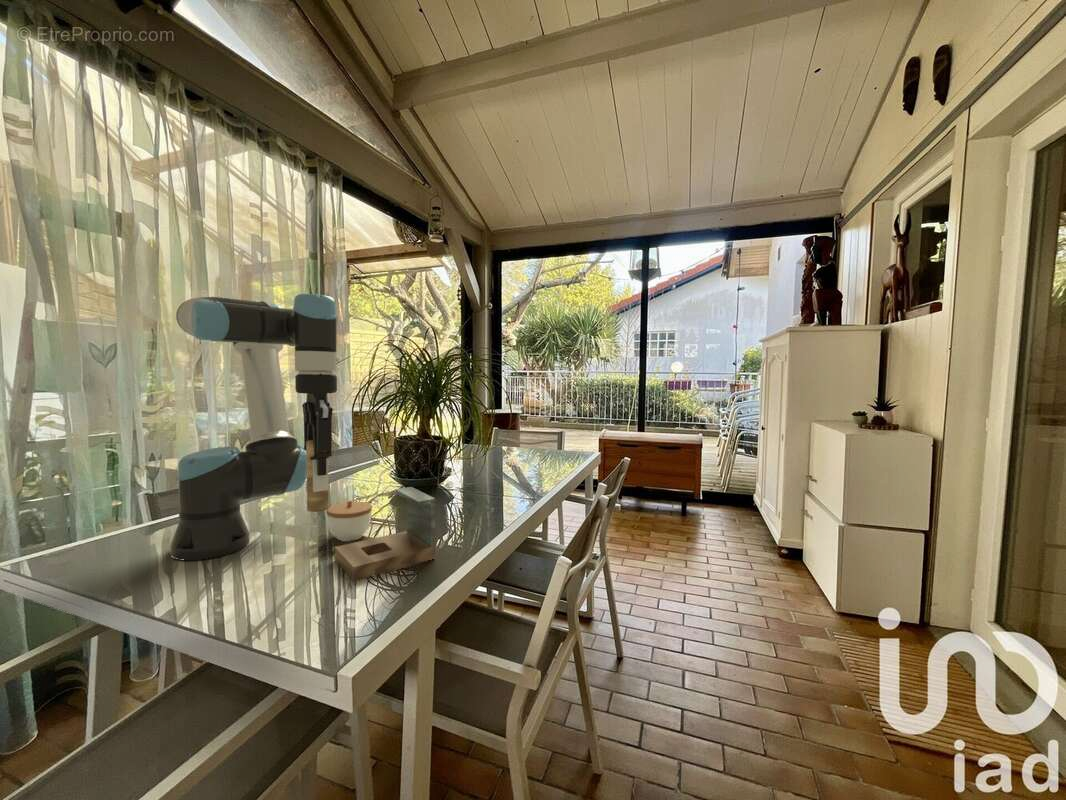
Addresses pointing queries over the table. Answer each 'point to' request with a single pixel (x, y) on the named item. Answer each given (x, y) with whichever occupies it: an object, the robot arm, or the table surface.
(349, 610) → the table surface
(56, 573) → the table surface
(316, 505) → the oak peg
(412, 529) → the socket block
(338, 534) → the lidded jar
